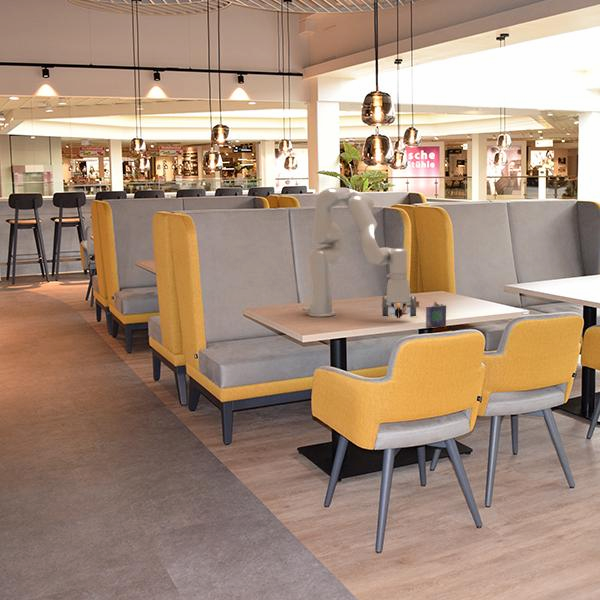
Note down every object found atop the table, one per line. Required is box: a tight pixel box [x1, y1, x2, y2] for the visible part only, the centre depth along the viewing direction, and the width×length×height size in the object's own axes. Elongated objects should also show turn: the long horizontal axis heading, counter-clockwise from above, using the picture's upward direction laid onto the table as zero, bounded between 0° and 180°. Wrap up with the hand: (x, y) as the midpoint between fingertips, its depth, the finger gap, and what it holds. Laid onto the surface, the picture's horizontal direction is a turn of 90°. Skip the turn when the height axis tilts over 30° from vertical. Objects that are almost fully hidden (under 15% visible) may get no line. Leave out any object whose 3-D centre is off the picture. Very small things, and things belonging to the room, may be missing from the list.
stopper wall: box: [388, 300, 420, 308], centre depth 390 cm, size 18×2×2 cm, turn 82°
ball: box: [397, 303, 407, 313], centre depth 370 cm, size 6×6×6 cm
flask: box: [425, 300, 447, 328], centre depth 336 cm, size 9×3×11 cm, turn 109°
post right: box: [409, 296, 417, 317], centre depth 362 cm, size 3×3×9 cm
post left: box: [381, 295, 389, 317], centre depth 364 cm, size 3×3×9 cm
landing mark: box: [388, 307, 410, 313], centre depth 377 cm, size 14×14×1 cm
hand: (398, 317), depth 350 cm, fingers closed
